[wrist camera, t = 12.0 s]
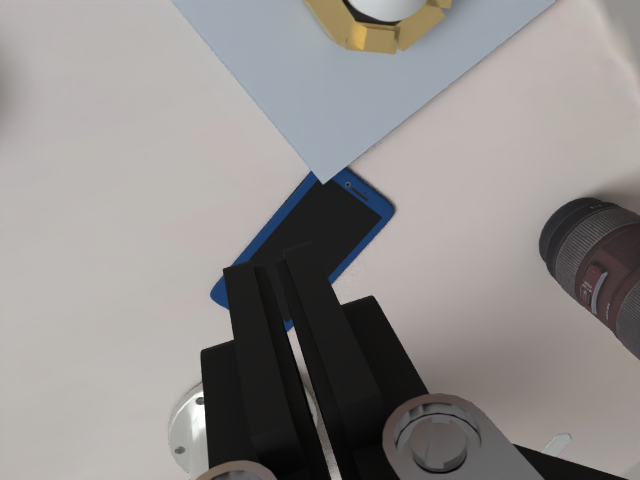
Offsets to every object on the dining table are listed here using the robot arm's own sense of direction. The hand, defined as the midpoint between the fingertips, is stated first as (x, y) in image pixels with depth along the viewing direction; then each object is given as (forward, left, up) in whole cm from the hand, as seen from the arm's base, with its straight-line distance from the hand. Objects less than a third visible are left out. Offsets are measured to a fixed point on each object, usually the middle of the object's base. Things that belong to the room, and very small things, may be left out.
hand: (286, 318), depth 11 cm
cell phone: (-15, +4, -28) cm, 32 cm away
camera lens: (-30, -14, -27) cm, 43 cm away
